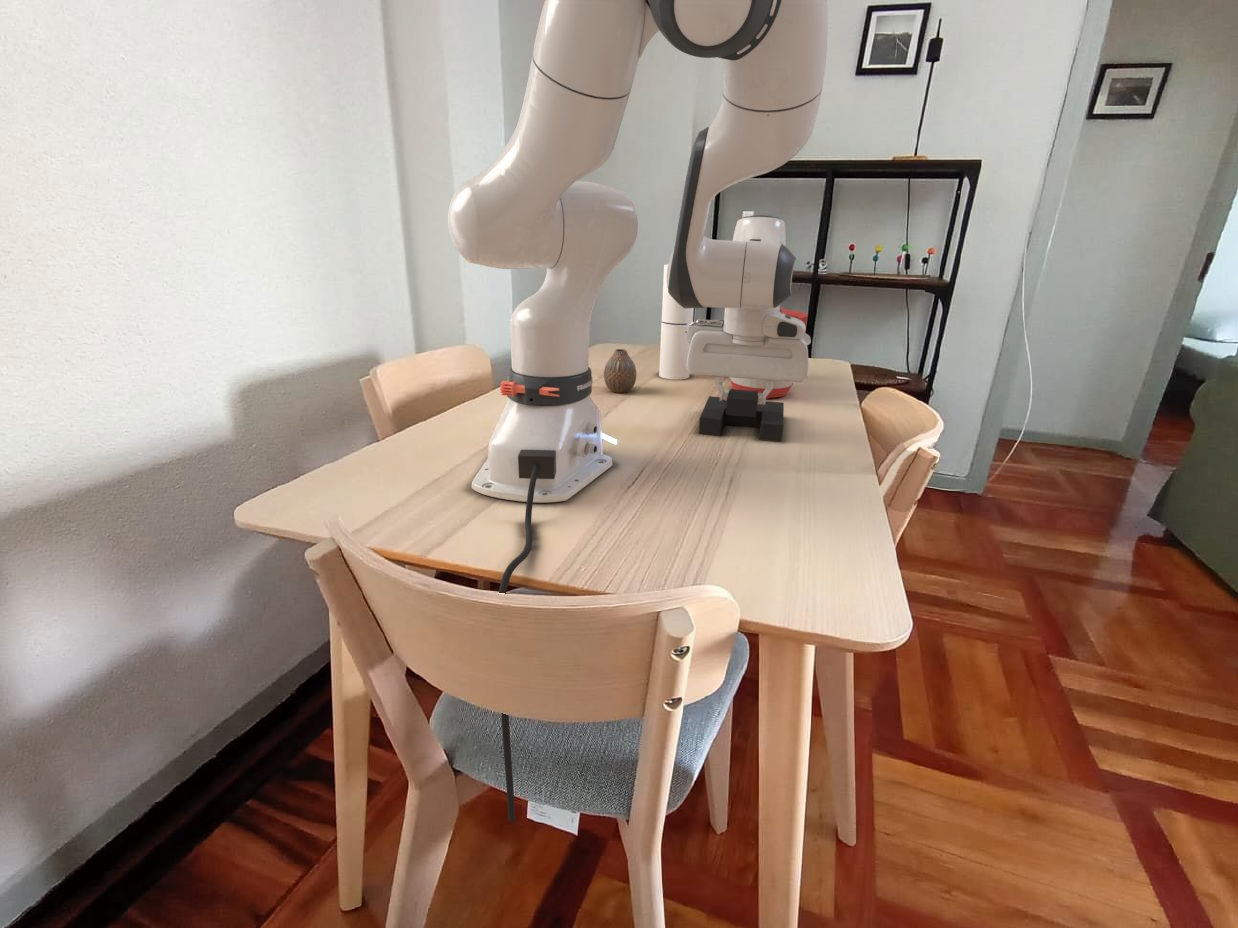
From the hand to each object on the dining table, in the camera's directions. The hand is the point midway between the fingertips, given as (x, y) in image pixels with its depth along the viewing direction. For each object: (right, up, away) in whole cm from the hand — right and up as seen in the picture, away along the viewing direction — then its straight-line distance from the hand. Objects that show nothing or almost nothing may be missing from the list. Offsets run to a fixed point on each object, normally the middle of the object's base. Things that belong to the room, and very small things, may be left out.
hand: (742, 402), depth 106 cm
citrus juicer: (+10, +5, +26) cm, 28 cm away
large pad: (+1, -4, +5) cm, 6 cm away
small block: (0, -1, +1) cm, 2 cm away
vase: (-21, +5, +25) cm, 34 cm away
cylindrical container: (-8, +10, +39) cm, 41 cm away
